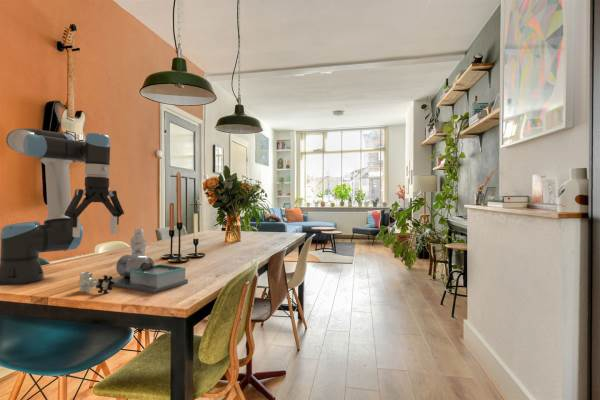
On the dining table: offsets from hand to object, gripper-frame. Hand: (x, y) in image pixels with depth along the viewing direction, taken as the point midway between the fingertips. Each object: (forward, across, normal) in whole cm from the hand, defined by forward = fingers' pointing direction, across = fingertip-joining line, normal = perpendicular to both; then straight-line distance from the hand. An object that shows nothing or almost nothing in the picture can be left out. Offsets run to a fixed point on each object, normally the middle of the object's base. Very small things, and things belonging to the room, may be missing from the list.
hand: (95, 235), depth 116 cm
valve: (+21, 0, 0) cm, 21 cm away
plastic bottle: (+21, +28, +12) cm, 37 cm away
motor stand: (+20, +17, -7) cm, 27 cm away
